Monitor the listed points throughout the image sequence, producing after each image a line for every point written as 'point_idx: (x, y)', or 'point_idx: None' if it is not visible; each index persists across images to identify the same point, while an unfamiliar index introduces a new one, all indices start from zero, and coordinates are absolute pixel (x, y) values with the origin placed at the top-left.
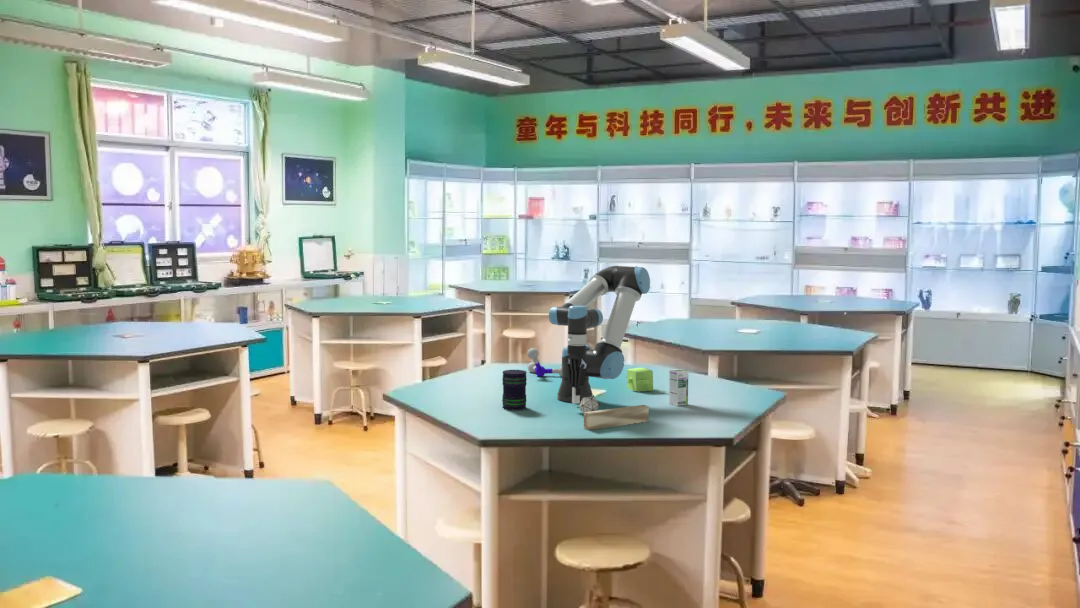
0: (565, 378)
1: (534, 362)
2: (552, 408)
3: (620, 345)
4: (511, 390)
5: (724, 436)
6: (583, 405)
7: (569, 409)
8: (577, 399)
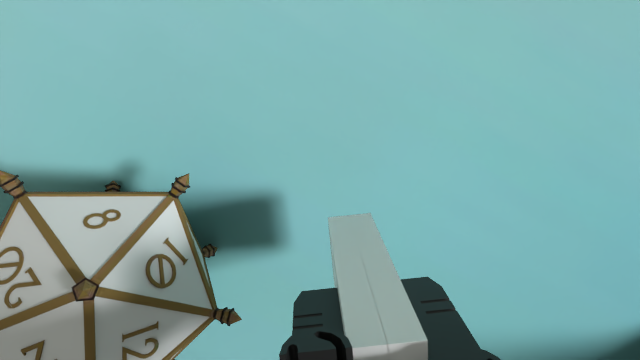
0: None
1: None
2: (571, 84)
3: None
4: None
5: None
6: (14, 204)
7: (453, 209)
8: (335, 282)
